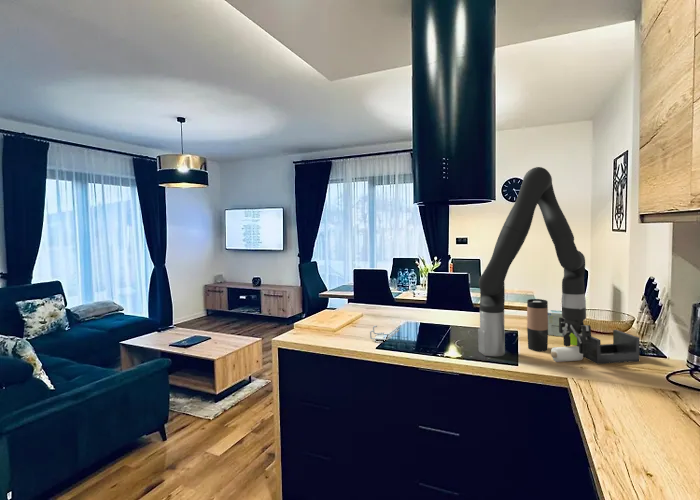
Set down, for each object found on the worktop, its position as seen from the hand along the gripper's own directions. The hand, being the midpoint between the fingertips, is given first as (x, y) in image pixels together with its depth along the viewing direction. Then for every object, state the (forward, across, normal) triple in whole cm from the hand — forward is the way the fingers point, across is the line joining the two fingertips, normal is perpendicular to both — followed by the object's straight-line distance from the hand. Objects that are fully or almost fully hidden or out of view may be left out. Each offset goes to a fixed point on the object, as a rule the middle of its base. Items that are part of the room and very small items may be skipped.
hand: (574, 349), depth 137 cm
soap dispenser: (+6, -22, +16) cm, 27 cm away
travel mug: (+5, -18, -4) cm, 19 cm away
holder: (+6, -4, +15) cm, 17 cm away
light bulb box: (+5, -37, +15) cm, 40 cm away
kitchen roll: (+3, -4, -1) cm, 5 cm away
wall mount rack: (+4, -45, -62) cm, 77 cm away
